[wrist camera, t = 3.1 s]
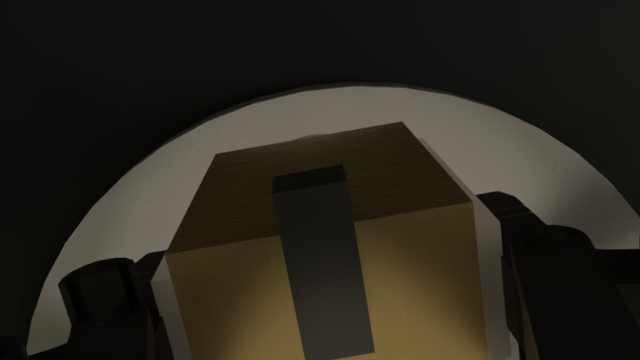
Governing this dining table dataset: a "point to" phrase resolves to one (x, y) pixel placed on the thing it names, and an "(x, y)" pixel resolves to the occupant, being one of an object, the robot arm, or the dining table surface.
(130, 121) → the dining table surface
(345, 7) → the dining table surface
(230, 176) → the knob
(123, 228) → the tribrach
